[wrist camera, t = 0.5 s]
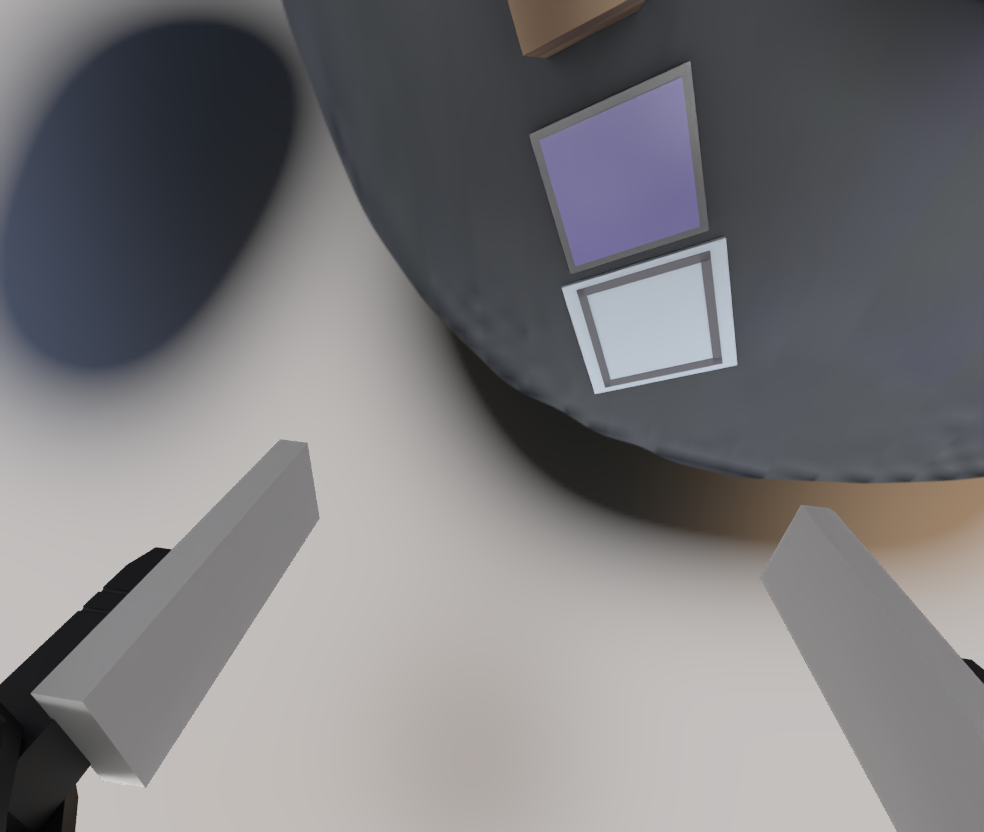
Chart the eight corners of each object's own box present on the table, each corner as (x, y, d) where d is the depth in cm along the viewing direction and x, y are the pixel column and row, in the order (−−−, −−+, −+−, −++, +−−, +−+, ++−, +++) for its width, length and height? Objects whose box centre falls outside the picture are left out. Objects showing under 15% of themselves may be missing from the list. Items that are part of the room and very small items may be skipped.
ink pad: (687, 60, 23) (691, 60, 22) (706, 226, 28) (709, 231, 27) (530, 132, 27) (528, 135, 26) (571, 269, 31) (570, 275, 31)
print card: (724, 235, 28) (726, 238, 28) (736, 362, 33) (737, 365, 33) (561, 285, 32) (561, 288, 32) (594, 391, 38) (594, 394, 37)
